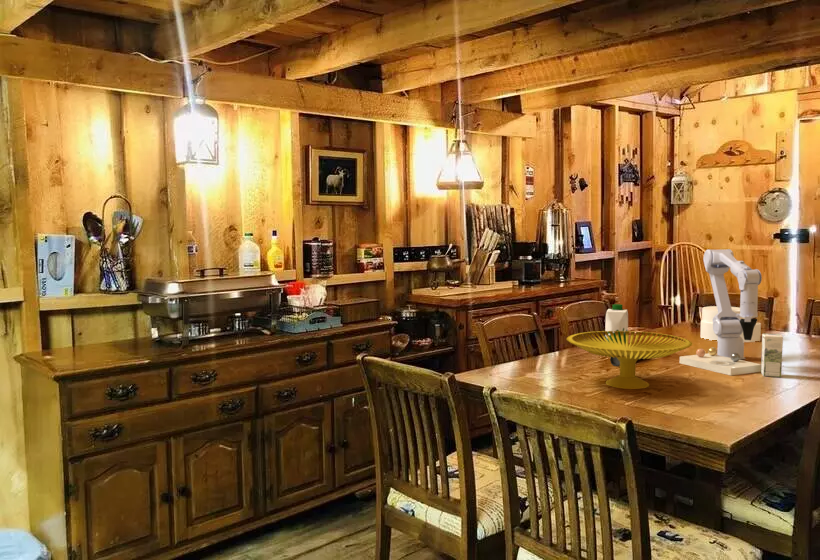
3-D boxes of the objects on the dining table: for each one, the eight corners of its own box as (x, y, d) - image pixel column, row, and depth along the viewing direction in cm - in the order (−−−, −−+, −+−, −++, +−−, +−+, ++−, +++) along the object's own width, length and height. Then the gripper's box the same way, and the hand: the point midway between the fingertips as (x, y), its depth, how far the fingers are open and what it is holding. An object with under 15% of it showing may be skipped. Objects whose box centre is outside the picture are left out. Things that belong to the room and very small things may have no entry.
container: (757, 344, 305) (758, 313, 304) (696, 339, 318) (697, 310, 317) (762, 337, 322) (763, 308, 320) (704, 333, 335) (704, 305, 334)
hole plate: (708, 359, 273) (709, 353, 273) (761, 371, 251) (761, 364, 251) (679, 363, 267) (679, 356, 267) (730, 375, 245) (730, 368, 245)
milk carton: (628, 352, 290) (629, 304, 288) (626, 356, 282) (627, 306, 280) (606, 351, 293) (607, 303, 292) (604, 354, 285) (604, 306, 283)
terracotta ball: (700, 355, 268) (700, 347, 268) (707, 357, 265) (707, 349, 265) (694, 356, 267) (694, 348, 266) (700, 358, 264) (700, 349, 263)
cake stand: (678, 405, 207) (679, 355, 206) (548, 389, 228) (548, 344, 227) (702, 378, 241) (703, 335, 240) (587, 366, 262) (587, 327, 261)
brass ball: (712, 354, 270) (712, 346, 270) (718, 355, 267) (719, 347, 267) (706, 355, 269) (706, 347, 269) (712, 356, 266) (712, 348, 266)
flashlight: (609, 365, 265) (609, 352, 265) (638, 358, 279) (639, 345, 278) (621, 367, 261) (621, 354, 261) (650, 360, 275) (650, 347, 274)
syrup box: (778, 374, 246) (780, 333, 245) (781, 377, 241) (783, 336, 240) (760, 373, 248) (762, 332, 247) (763, 376, 243) (764, 335, 241)
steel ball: (734, 360, 259) (735, 351, 258) (742, 361, 256) (742, 353, 255) (728, 361, 257) (728, 352, 257) (735, 362, 254) (735, 354, 254)
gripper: (738, 300, 265) (737, 335, 266) (735, 304, 252) (734, 341, 253) (758, 300, 262) (757, 336, 263) (757, 304, 249) (756, 342, 250)
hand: (748, 339), depth 258 cm, fingers open, 4 cm apart
